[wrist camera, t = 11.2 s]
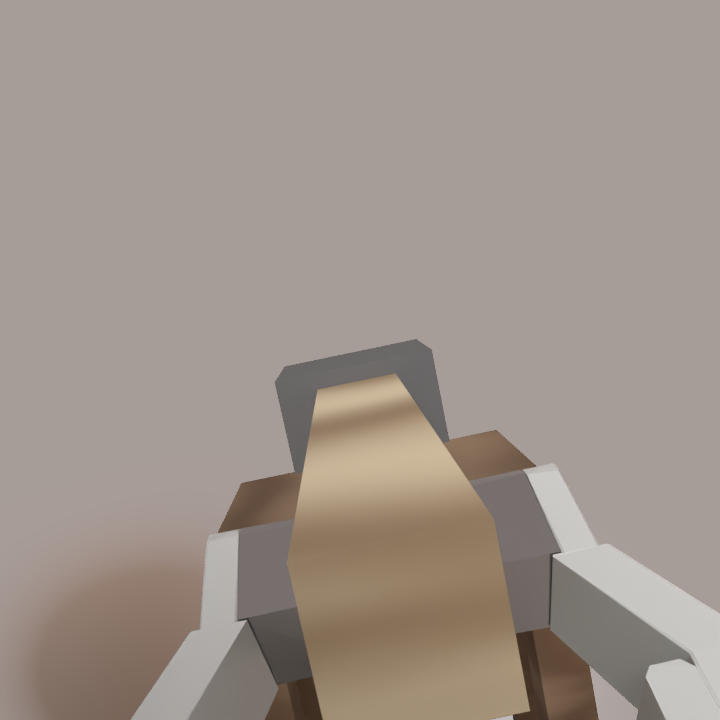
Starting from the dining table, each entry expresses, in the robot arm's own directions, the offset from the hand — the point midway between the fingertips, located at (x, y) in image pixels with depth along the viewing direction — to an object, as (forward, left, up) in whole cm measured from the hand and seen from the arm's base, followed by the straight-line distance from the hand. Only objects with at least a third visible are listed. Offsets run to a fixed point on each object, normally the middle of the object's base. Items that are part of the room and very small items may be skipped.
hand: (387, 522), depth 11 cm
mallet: (0, +6, -2) cm, 6 cm away
